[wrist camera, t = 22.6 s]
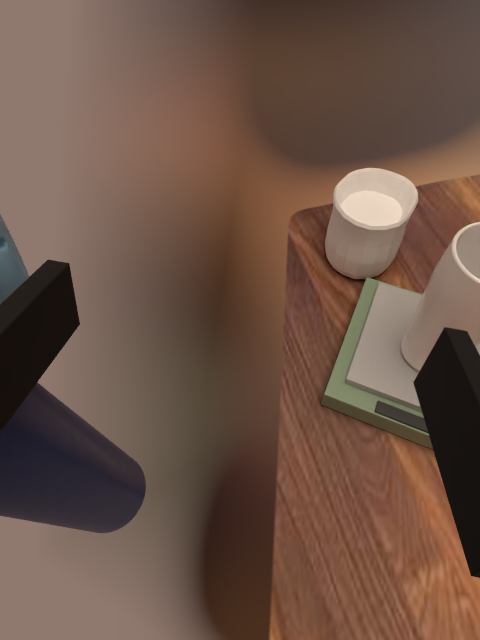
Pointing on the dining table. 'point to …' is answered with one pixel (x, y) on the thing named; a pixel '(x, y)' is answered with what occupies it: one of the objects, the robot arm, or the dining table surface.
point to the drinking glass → (448, 298)
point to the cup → (368, 221)
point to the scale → (379, 365)
